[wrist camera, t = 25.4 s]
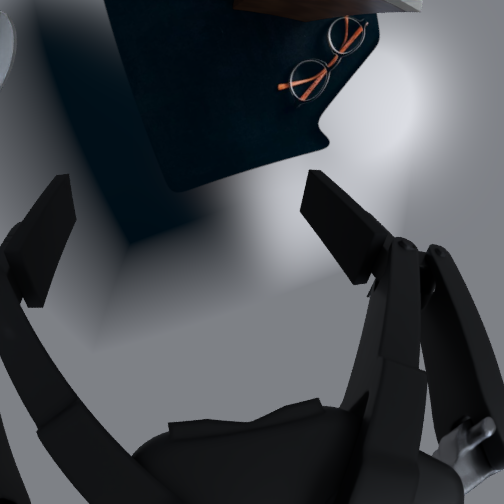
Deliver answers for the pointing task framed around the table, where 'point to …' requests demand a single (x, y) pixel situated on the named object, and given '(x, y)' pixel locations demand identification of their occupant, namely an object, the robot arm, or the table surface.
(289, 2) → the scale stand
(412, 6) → the scale
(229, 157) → the table surface
